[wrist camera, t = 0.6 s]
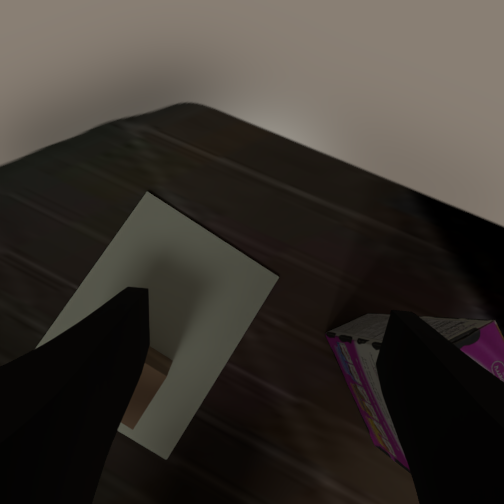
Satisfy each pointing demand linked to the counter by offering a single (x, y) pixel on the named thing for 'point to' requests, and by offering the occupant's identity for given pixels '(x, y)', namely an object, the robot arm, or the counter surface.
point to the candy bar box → (365, 372)
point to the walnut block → (147, 386)
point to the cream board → (175, 308)
